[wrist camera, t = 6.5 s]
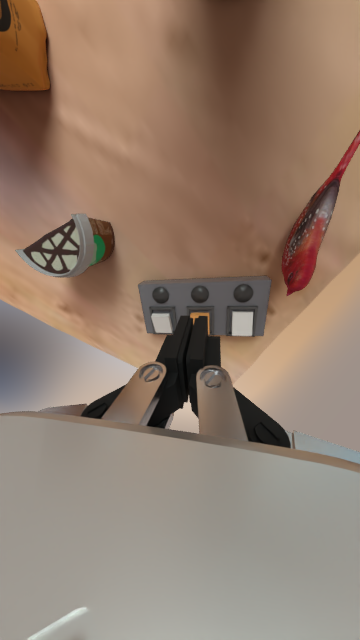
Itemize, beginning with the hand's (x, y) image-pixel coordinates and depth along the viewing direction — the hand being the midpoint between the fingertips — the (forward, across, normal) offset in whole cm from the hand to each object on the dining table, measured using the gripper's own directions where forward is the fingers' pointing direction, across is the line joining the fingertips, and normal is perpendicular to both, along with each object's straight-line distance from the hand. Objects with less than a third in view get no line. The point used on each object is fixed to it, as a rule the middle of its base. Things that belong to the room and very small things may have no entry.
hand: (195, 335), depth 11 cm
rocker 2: (+18, -6, +9) cm, 21 cm away
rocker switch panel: (+22, +2, +7) cm, 23 cm away
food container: (+22, +20, -4) cm, 31 cm away
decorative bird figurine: (+23, -13, -5) cm, 26 cm away
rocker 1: (+18, +8, +9) cm, 22 cm away
